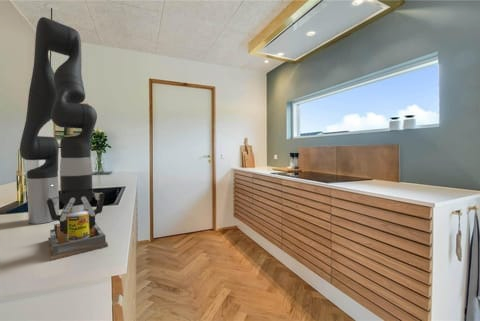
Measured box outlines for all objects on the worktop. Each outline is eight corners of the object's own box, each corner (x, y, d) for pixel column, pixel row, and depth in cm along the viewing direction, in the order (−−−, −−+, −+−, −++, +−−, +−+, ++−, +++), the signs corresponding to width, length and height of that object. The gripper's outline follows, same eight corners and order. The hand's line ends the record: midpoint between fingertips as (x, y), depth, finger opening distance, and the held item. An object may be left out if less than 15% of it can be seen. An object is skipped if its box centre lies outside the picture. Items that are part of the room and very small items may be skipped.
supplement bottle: (65, 244, 63) (64, 207, 62) (67, 237, 68) (66, 203, 67) (89, 240, 66) (89, 205, 65) (89, 233, 71) (89, 201, 70)
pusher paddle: (57, 241, 67) (57, 225, 67) (94, 234, 73) (93, 219, 73) (57, 242, 67) (57, 226, 66) (94, 235, 73) (94, 219, 72)
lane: (48, 240, 71) (47, 225, 71) (96, 230, 80) (96, 217, 80) (50, 260, 59) (50, 242, 58) (107, 246, 67) (107, 230, 67)
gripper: (102, 170, 73) (103, 222, 74) (43, 173, 64) (45, 232, 65) (107, 172, 68) (108, 228, 69) (44, 176, 58) (46, 241, 59)
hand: (78, 230), depth 67 cm, fingers closed on supplement bottle, 5 cm apart
